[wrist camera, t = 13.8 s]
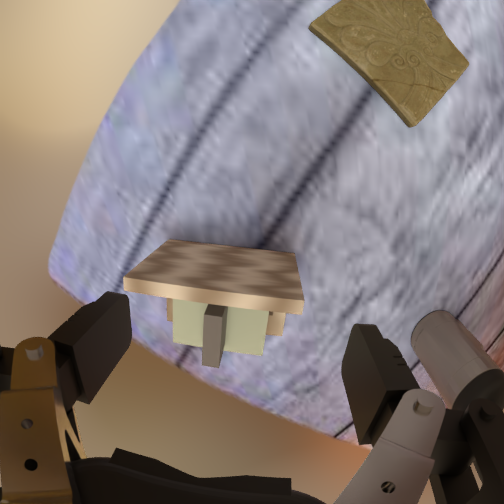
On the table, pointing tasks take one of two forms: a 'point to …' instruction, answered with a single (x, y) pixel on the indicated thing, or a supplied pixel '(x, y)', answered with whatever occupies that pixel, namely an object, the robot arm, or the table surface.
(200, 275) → the wooden stand
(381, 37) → the decorative tile
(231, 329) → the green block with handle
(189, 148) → the table surface
